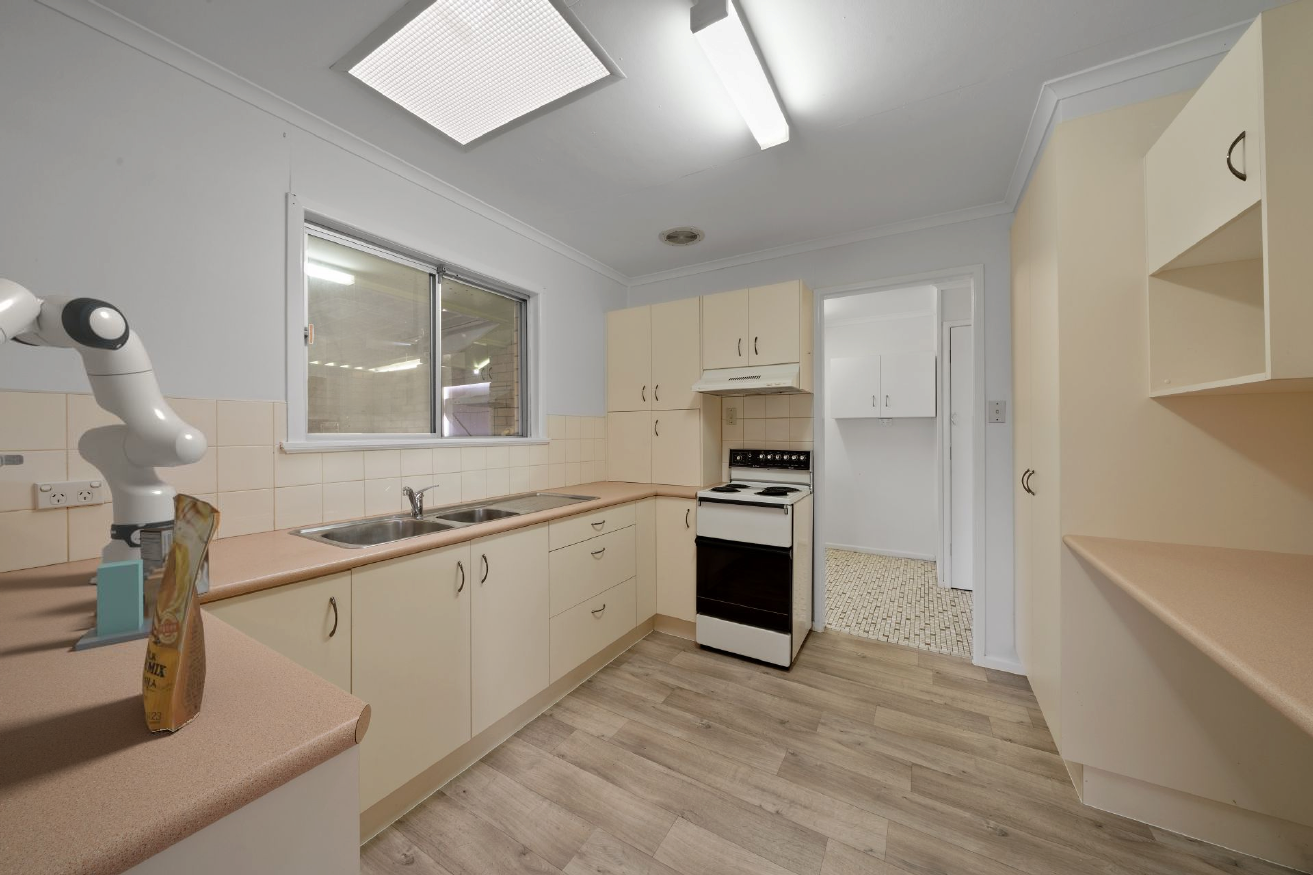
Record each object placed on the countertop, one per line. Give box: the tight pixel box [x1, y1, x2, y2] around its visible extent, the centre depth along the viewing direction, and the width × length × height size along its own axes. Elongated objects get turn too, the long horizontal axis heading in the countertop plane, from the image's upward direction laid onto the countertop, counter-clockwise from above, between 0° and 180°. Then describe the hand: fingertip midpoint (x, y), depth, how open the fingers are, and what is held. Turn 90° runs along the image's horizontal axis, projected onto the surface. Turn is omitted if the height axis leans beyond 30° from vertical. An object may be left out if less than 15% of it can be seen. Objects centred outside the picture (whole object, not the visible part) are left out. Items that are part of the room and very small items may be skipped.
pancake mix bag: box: [141, 493, 221, 733], centre depth 64 cm, size 7×19×28 cm, turn 48°
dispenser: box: [93, 565, 165, 628], centre depth 97 cm, size 9×12×9 cm
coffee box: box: [140, 525, 211, 595], centre depth 107 cm, size 9×6×16 cm
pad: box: [75, 618, 153, 652], centre depth 87 cm, size 9×9×1 cm
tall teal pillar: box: [96, 559, 143, 637], centre depth 87 cm, size 4×5×12 cm
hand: (12, 460), depth 82 cm, fingers open, 8 cm apart
